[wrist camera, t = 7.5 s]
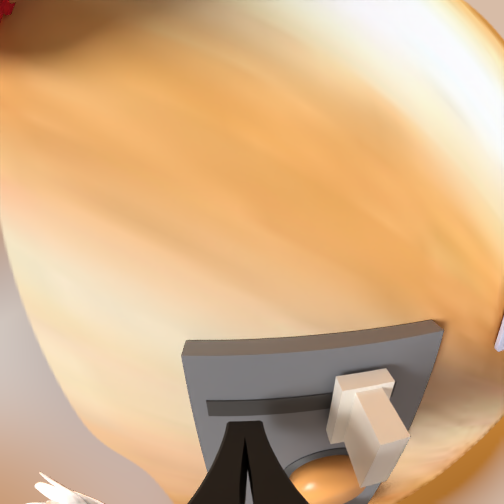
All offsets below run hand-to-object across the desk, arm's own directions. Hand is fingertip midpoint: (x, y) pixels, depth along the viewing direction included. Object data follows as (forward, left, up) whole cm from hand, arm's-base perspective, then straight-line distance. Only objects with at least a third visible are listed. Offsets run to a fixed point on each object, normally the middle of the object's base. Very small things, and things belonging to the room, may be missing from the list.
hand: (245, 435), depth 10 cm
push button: (-5, +7, -2) cm, 9 cm away
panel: (-4, +7, -3) cm, 8 cm away
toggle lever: (-5, 0, -2) cm, 5 cm away
